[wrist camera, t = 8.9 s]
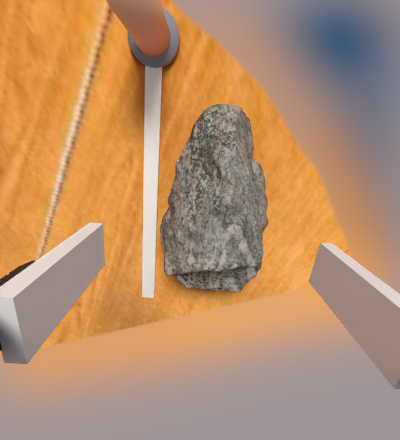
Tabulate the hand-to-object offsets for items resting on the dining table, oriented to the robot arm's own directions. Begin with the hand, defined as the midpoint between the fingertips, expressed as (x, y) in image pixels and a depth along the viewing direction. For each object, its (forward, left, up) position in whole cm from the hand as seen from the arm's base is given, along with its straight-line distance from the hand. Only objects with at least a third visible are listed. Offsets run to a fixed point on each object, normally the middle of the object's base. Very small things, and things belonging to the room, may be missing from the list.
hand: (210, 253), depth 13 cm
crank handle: (-6, +2, -12) cm, 13 cm away
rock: (0, 0, -12) cm, 12 cm away
